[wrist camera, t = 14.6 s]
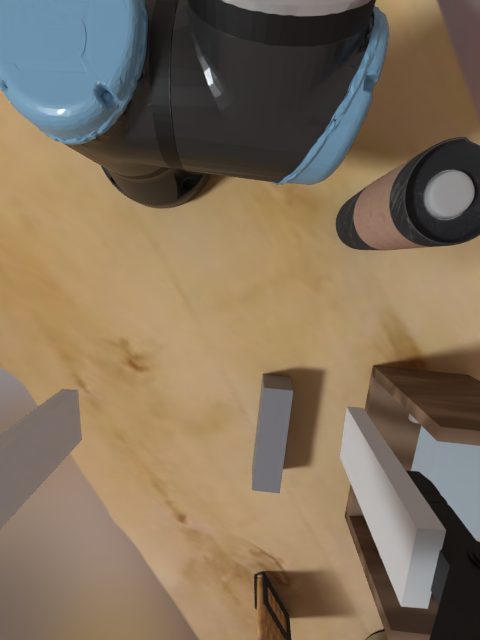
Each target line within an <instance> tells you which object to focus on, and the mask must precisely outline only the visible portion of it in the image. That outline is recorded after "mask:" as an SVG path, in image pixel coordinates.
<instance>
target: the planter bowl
mask: <svg viewBox="0 0 480 640" xmlns="http://www.w3.org/2000/svg"><path fill="white" fill-rule="evenodd" d="M367 640H388V638H387V635H386V632H385V631H383V632H379V633H376V634H374V635H372V636H370V637H369V638H368V639H367Z"/></svg>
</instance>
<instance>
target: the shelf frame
mask: <svg viewBox="0 0 480 640" xmlns="http://www.w3.org/2000/svg"><path fill="white" fill-rule="evenodd" d="M365 412H366V413H367V415H368V416H369V418H370V419H371V420H372V422H373V423H374V425H375V426H376V428H377V429H378V431H379V432H380V434H381V435H382V437H383V438H384V440H385V441H386V443H387V444H388V446H389V447H390V448H391V450H392V451H393V453H394V454H395V456H396V457H397V459H398V460H399V462H400V463H401V465H402V466H403V468H404V469H405V470H407V471H411V469H412V464H413V460H414V455H415V451H416V447H417V442H418V438H419V434H420V429H421V426H422V427H423V428H424V429H425V430H426V431H427V432H428V433H429V434H430V435H431V436H432V437H433V438H434V439H435V440H436V441H439V442H449V443H458V444H467V445H476V446H480V381H478V380H476V379H475V378H473V377H471V376H469V375H460V374H450V373H440V372H430V371H421V370H411V369H401V368H391V367H381V366H373V368H372V374H371V379H370V384H369V390H368V395H367V400H366V406H365ZM345 518H346V521H347V524H348V527H349V530H350V533H351V535H352V538H353V541H354V544H355V547H356V550H357V553H358V555H359V558H360V561H361V564H362V567H363V570H364V572H365V575H366V578H367V581H368V584H369V587H370V590H371V592H372V595H373V598H374V601H375V604H376V607H377V610H378V612H379V615H380V618H381V621H382V624H383V627H384V629H385V632H386V635H387V638H388V640H430V636H431V633H432V629H433V625H434V622H435V618H436V615H437V611H438V607H439V606H438V604H437V602H436V600H435V598H434V596H433V594H432V593H431V597H430V602H429V606H428V609H425V608H413V607H402V606H401V605H400V603H399V601H398V598H397V596H396V593H395V591H394V588H393V586H392V583H391V581H390V578H389V576H388V574H387V571H386V569H385V566H384V564H383V561H382V559H381V556H380V554H379V552H378V549H377V547H376V544H375V542H374V539H373V537H372V534H371V532H370V529H369V527H368V525H367V522H366V520H365V517H364V515H363V512H362V510H361V507H360V505H359V503H358V500H357V498H356V495H355V493H354V490H353V488H352V485H351V486H350V491H349V496H348V501H347V507H346V512H345Z"/></svg>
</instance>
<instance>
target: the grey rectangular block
mask: <svg viewBox="0 0 480 640" xmlns="http://www.w3.org/2000/svg"><path fill="white" fill-rule="evenodd" d="M292 398H293V388H292V384H291V381H290V377H285V376H276V375H266V374H263V378H262V386H261V395H260V404H259V413H258V422H257V430H256V439H255V448H254V457H253V466H252V490H255V491H264V492H273V493H280V486H281V479H282V471H283V464H284V457H285V449H286V442H287V435H288V427H289V420H290V413H291V405H292Z"/></svg>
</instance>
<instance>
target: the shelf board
mask: <svg viewBox="0 0 480 640" xmlns="http://www.w3.org/2000/svg"><path fill="white" fill-rule="evenodd" d="M411 471H419V472H420V473H421V474H423V475H424V476H425V477H426V478H428V479H429V480H430V481H431V482H432V483H433V484H434V485H435V487H436V488H437V489H438V491H439V492H440V495H441V496H443V497H444V499H445V500H446V501H447V503H448V505H450V507H451V508H452V509H453V511H454V512H455V513H456V514H457V516H458V517H459V518H460V520H461V521H462V522H463V524H464V525H465V526H466V528H467V529H468V530H469V532H470V533H471V534H472V536H473V537H474V538H475V540H476V541H478V540H479V537H480V446H476V445H467V444H458V443H449V442H439V441H436V440H435V439H434V438H433V437H432V436H431V435H430V434H429V433H428V432H427V431H426V430H425V429H424V428H423V427H422V426H421V429H420V434H419V438H418V442H417V447H416V451H415V455H414V460H413V464H412V469H411Z"/></svg>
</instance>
